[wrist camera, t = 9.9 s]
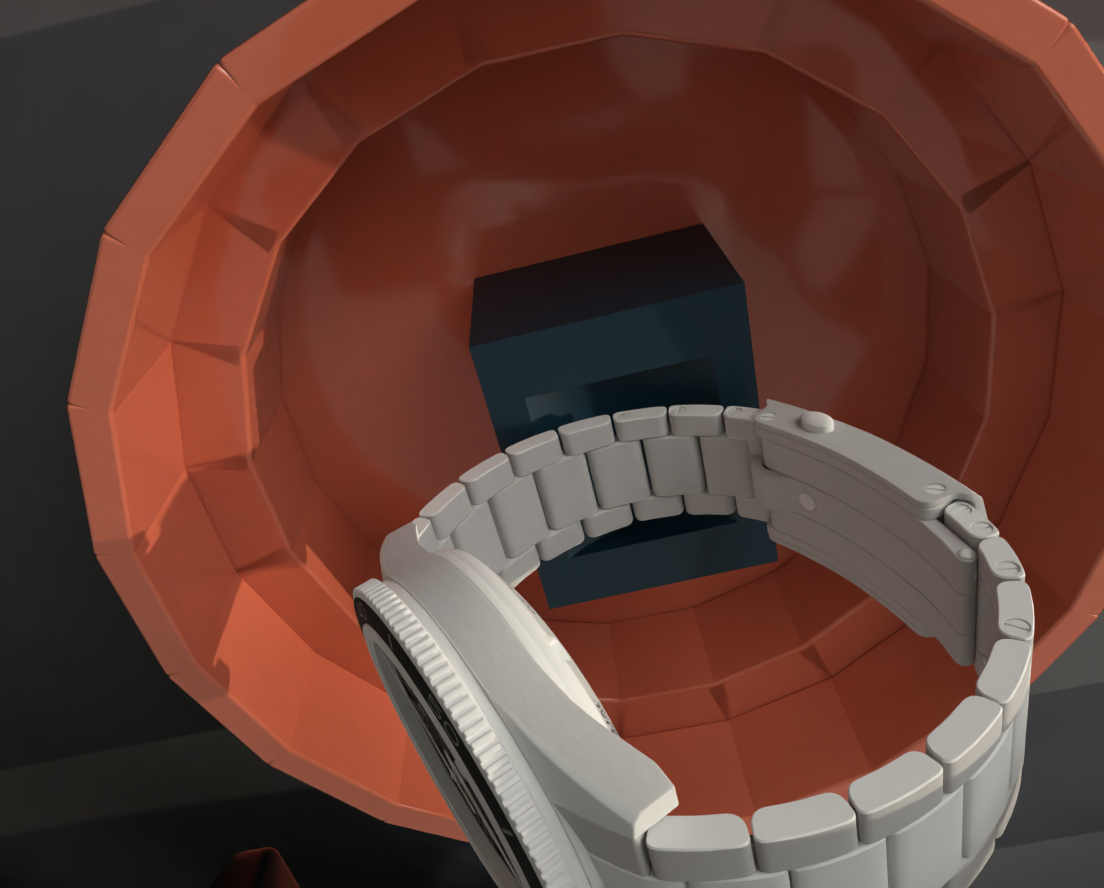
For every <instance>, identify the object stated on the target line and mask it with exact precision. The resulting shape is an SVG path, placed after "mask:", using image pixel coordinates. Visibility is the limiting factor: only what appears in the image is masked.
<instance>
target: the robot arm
mask: <svg viewBox="0 0 1104 888" xmlns="http://www.w3.org/2000/svg"><path fill="white" fill-rule="evenodd" d="M209 888H300V887H299V885H298V884H297V882H296V880H295V879H294V877H293V875H292V874H291V872H290V870H289V869H288V867H287V865H286V864H285V862H284V860H283V858H282V857H281V855H280V854H279V852H278V851H277V850H276V849H274V848H272V847H266V848H260V849H254V850H248V851H243V852H240V853H237V854H236V855H234V856H233V857H232V858H231V859H230V860H229V861H228V862H227V863H226V865H225V866H224V868H223V869H222V870H221V872H220V873H219V874H218V876H217V877H216V879H215V880H214V881H213V883H212V884H211V886H210V887H209Z"/></svg>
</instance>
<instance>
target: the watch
mask: <svg viewBox="0 0 1104 888" xmlns="http://www.w3.org/2000/svg"><path fill="white" fill-rule="evenodd" d="M469 350H470V353H471V356H472V359H473V363H474V366H475V369H476V372H477V376H478V379H479V382H480V385H481V389H482V392H483V395H484V398H485V402H486V405H487V408H488V411H489V414H490V418H491V421H492V424H493V427H494V431H495V434H496V437H497V440H498V444H499V447H500V450H501V453H498V454H496V455H494V456H492V457H490V458H489V459H487V460H485V461H483V462H481V463H480V464H478V465H476V466H475V467H473V468H472V469H470V470H469V471H467V472H466V473H464V474H463V475H461V476H460V477H459V482H460V483H457V482H456V483H452V484H451V485H449V486H448V487H447V488H445V489H444V490H443V491H442V492H440V493H439V494H438V495H437V496H436V497H435V498H433V499H432V500H431V501H430V502H429V503H428V504H427V505H426V506H425V507H424V508H423V509H422V510H421V511H420V513H419V516H420V517H419V518H416V519H414V520H413V521H412V522H410V523H408V524H406V525H404V526H402V527H400V528H399V529H397V530H395V531H393V532H391V533H390V534H388V535H387V536H386V538H385V540H384V542H383V544H382V546H381V550H380V565H381V572H382V578H383V582H381V581H379V580H377V579H370V580H368V581H367V582H365V583H363V584H361V585H359V586H358V587H356V588H354V590H353V601H354V609H355V613H356V617H357V620H358V623H359V626H360V628H361V631H362V634H363V636H364V639H365V642H366V645H367V647H368V650H369V653H370V655H371V658H372V660H373V663H374V665H375V667H376V670H377V672H378V674H379V676H380V679H381V681H382V683H383V685H384V688H385V690H386V692H387V694H388V696H389V698H390V700H391V702H392V704H393V706H394V708H395V710H396V712H397V714H398V716H399V718H400V720H401V722H402V724H403V726H404V728H405V730H406V732H407V734H408V736H409V738H410V739H411V741H412V743H413V745H414V747H415V749H416V751H417V753H418V754H419V756H420V758H421V760H422V762H423V764H424V765H425V767H426V769H427V771H428V773H429V774H430V776H431V778H432V780H433V781H434V783H435V785H436V787H437V788H438V790H439V792H440V794H441V795H442V797H443V799H444V801H445V802H446V804H447V806H448V807H449V809H450V811H451V813H452V814H453V816H454V818H455V819H456V821H457V823H458V824H459V826H460V828H461V829H462V831H463V833H464V834H465V836H466V838H467V839H468V841H469V842H470V844H471V846H472V847H473V849H474V850H475V852H476V854H477V855H478V857H479V858H480V860H481V862H482V863H483V865H484V866H485V868H486V869H487V871H488V872H489V874H490V875H491V877H492V878H493V880H494V881H495V883H496V884H497V886H498V887H499V888H790V884H791V888H967V887H968V886H969V885H970V884H971V883H972V882H973V880H974V879H975V878H976V877H977V875H978V874H979V873H980V871H981V870H982V869H983V867H984V866H985V864H986V862H987V861H988V859H989V858H990V856H991V855H992V853H993V851H994V848H995V839H997V838H999V837H1000V836H1001V835H1002V834H1003V832H1004V830H1005V828H1006V826H1007V823H1008V821H1009V819H1010V817H1011V815H1012V812H1013V809H1014V806H1015V803H1016V800H1017V796H1018V792H1019V788H1020V784H1021V775H1022V767H1023V763H1024V751H1025V739H1026V725H1027V712H1028V700H1029V687H1030V675H1031V662H1032V652H1033V639H1034V607H1033V601H1032V596H1031V591H1030V588H1029V586H1028V585H1027V584H1026V583H1025V572H1024V569H1023V567H1022V565H1021V563H1020V561H1019V559H1018V557H1017V556H1016V554H1015V552H1014V551H1013V549H1012V548H1011V547H1010V545H1009V544H1008V543H1007V542H1006V540H1004V539H1003V538H1001V537H999V531H998V529H997V528H996V527H995V526H994V525H993V524H992V523H991V522H990V521H989V520H988V518H987V514H986V510H985V506H984V502H983V498H982V497H981V496H979V495H978V494H976V493H975V492H974V491H972V490H971V489H969V488H967V487H966V486H964V485H963V484H961V483H960V482H958V481H957V480H955V479H953V478H952V477H950V476H949V475H947V474H945V473H944V472H942V471H940V470H939V469H937V468H935V467H934V466H932V465H930V464H928V463H927V462H925V461H923V460H921V459H919V458H918V457H916V456H914V455H912V454H910V453H908V452H906V451H905V450H903V449H901V448H899V447H897V446H895V445H893V444H891V443H889V442H887V441H885V440H883V439H881V438H879V437H876V436H874V435H872V434H870V433H868V432H865V431H863V430H860V429H858V428H855V427H853V426H850V425H848V424H845V423H843V422H840V421H837V420H834V419H832V418H831V417H830V416H828V415H827V414H824V413H821V412H814V411H808V410H805V409H802V408H799V407H795V406H792V405H789V404H785V403H782V402H778V401H774V400H770V399H767V401H766V407H765V408H764V409H760V406H759V398H758V389H757V381H756V373H755V365H754V356H753V348H752V340H751V332H750V323H749V315H748V307H747V298H746V290H745V282H744V281H743V280H742V278H741V277H740V275H739V274H738V272H737V271H736V270H735V268H734V267H733V265H732V264H731V262H730V261H729V260H728V258H727V257H726V255H725V254H724V252H723V251H722V250H721V248H720V247H719V245H718V244H717V242H716V241H715V240H714V238H713V237H712V235H711V234H710V232H709V231H708V230H707V228H706V227H705V225H704V224H703V223H702V224H698V225H694V226H689V227H685V228H681V229H677V230H673V231H669V232H665V233H660V234H656V235H652V236H648V237H644V238H640V239H636V240H631V241H627V242H623V243H619V244H615V245H611V246H607V247H602V248H598V249H594V250H590V251H586V252H582V253H578V254H573V255H569V256H565V257H561V258H557V259H553V260H549V261H544V262H540V263H536V264H532V265H528V266H524V267H519V268H515V269H511V270H507V271H503V272H499V273H495V274H490V275H486V276H482V277H478V278H474V289H473V301H472V314H471V326H470V339H469ZM776 543H779V544H781V545H783V546H785V547H787V548H790V549H792V550H794V551H796V552H798V553H800V554H802V555H804V556H806V557H808V558H810V559H812V560H814V561H816V562H818V563H819V564H821V565H823V566H825V567H827V568H829V569H830V570H832V571H834V572H836V573H837V574H839V575H841V576H842V577H844V578H846V579H847V580H849V581H850V582H852V583H853V584H855V585H856V586H858V587H859V588H861V589H862V590H863V591H865V592H866V593H868V594H869V595H870V596H872V597H873V598H874V599H876V600H877V601H878V602H880V603H881V604H882V605H883V606H885V607H886V608H887V609H889V610H890V611H891V612H892V613H893V614H895V615H896V616H897V617H898V618H899V619H901V620H902V621H903V622H904V623H905V624H906V625H908V626H909V627H910V628H911V629H912V630H913V631H914V632H916V633H917V634H918V635H920V636H923V637H936V638H937V639H938V641H939V642H940V643H941V644H942V645H943V647H944V648H945V649H946V650H947V652H948V653H949V654H950V656H951V657H952V658H953V660H954V661H955V662H956V663H957V664H959V665H962V666H969V665H972V664H973V663H974V667H975V670H976V672H977V674H978V677H979V678H978V680H977V682H976V694H975V696H970V697H967V698H966V699H964V700H963V701H962V702H961V703H960V704H959V705H958V706H957V707H956V709H955V710H954V711H953V712H952V713H951V714H950V715H949V716H948V717H947V718H946V719H945V720H944V721H943V722H942V723H941V724H940V725H939V726H938V727H937V728H936V729H934V730H933V731H932V732H931V733H930V734H929V735H928V736H927V738H926V754H924V753H922V752H918V751H911V752H908V753H905V754H904V755H902V756H900V757H899V758H897V759H895V760H894V761H892V762H890V763H889V764H887V765H885V766H883V767H882V768H880V769H878V770H876V771H874V772H872V773H870V774H867V775H865V776H863V777H861V778H859V779H857V780H855V781H854V782H852V783H851V784H850V786H849V787H848V800H849V804H848V802H847V801H846V800H845V799H844V798H843V797H841V796H840V795H838V794H836V793H823V794H819V795H816V796H812V797H809V798H805V799H802V800H798V801H793V802H789V803H784V804H779V805H773V806H768V807H763V808H761V809H758V810H757V811H756V812H755V813H754V814H753V816H752V818H751V827H752V833H753V838H754V844H751V840H750V836H749V833H748V829H747V826H746V824H745V822H744V821H743V820H742V819H741V818H740V817H739V816H736V815H734V814H728V813H727V814H714V815H700V816H666V815H667V814H668V813H669V812H671V811H672V810H673V809H674V808H676V807H677V806H678V804H679V803H678V799H677V795H676V790H675V786H674V785H673V784H672V782H671V781H670V780H669V779H668V777H667V776H666V775H665V774H664V772H663V771H662V770H661V769H660V767H659V766H658V765H657V764H656V763H655V762H654V761H653V760H651V759H650V758H648V757H647V756H646V755H644V754H643V753H641V752H640V751H638V750H637V749H635V748H634V747H633V746H631V745H630V744H628V743H627V742H625V741H624V740H623V739H621V738H620V736H619V735H618V733H617V731H616V729H615V727H614V725H613V724H612V722H611V720H610V718H609V717H608V715H607V713H606V711H605V710H604V708H603V706H602V704H601V703H600V701H599V699H598V698H597V696H596V695H595V693H594V691H593V690H592V688H591V687H590V685H589V683H588V682H587V680H586V679H585V677H584V676H583V674H582V673H581V671H580V670H579V668H578V667H577V665H576V664H575V662H574V661H573V659H572V658H571V656H570V655H569V654H568V652H567V651H566V649H565V648H564V647H563V645H562V644H561V643H560V641H559V640H558V639H557V637H556V636H555V635H554V633H553V632H552V631H551V630H550V628H549V627H548V626H547V625H546V623H545V622H544V621H543V620H542V618H541V617H540V616H539V615H538V614H537V613H536V611H535V610H534V609H533V608H532V607H531V606H530V605H529V604H528V603H527V601H526V600H525V599H524V598H523V597H522V596H521V595H520V594H519V593H518V592H517V591H516V590H515V589H514V587H515V586H517V585H518V584H519V583H520V582H521V581H522V580H523V579H525V578H526V577H527V576H528V575H530V574H531V573H532V572H533V571H535V570H536V569H537V570H538V573H539V577H540V580H541V583H542V586H543V590H544V593H545V596H546V599H547V603H548V606H549V609H554V608H558V607H563V606H568V605H573V604H577V603H582V602H587V601H592V600H596V599H601V598H606V597H611V596H615V595H620V594H625V593H630V592H634V591H639V590H644V589H649V588H653V587H658V586H663V585H668V584H672V583H677V582H682V581H687V580H691V579H696V578H701V577H705V576H710V575H715V574H720V573H724V572H729V571H734V570H739V569H743V568H748V567H753V566H758V565H762V564H767V563H772V562H777V561H778V555H777V547H776ZM974 657H975V660H974ZM788 871H789V875H788ZM789 877H790V882H789Z"/></svg>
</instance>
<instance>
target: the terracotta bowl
mask: <svg viewBox="0 0 1104 888" xmlns="http://www.w3.org/2000/svg"><path fill="white" fill-rule="evenodd" d="M702 223H703V224H704V225H705V227H706V228H707V230H708V231H709V232H710V234H711V235H712V237H713V238H714V240H715V241H716V242H717V244H718V245H719V247H720V248H721V250H722V251H723V252H724V254H725V255H726V257H727V258H728V260H729V261H730V262H731V264H732V265H733V267H734V268H735V270H736V271H737V272H738V274H739V275H740V277H741V278H742V280H743V281H744V282H745V290H746V298H747V307H748V315H749V323H750V332H751V340H752V348H753V356H754V365H755V373H756V381H757V389H758V398H759V406H760V409H764V408H765V407H766V401H767V399H770V400H774V401H778V402H782V403H785V404H789V405H792V406H795V407H799V408H802V409H805V410H808V411H814V412H821V413H824V414H827V415H828V416H830V417H831V418H832V419H834V420H837V421H840V422H843V423H845V424H848V425H850V426H853V427H855V428H858V429H860V430H863V431H865V432H868V433H870V434H872V435H874V436H876V437H879V438H881V439H883V440H885V441H887V442H889V443H891V444H893V445H895V446H897V447H899V448H901V449H903V450H905V451H906V452H908V453H910V454H912V455H914V456H916V457H918V458H919V459H921V460H923V461H925V462H927V463H928V464H930V465H932V466H934V467H935V468H937V469H939V470H940V471H942V472H944V473H945V474H947V475H949V476H950V477H952V478H953V479H955V480H957V481H958V482H960V483H961V484H963V485H964V486H966V487H967V488H969V489H971V490H972V491H974V492H975V493H976V494H978V495H979V496H981V497H982V498H983V502H984V506H985V510H986V514H987V518H988V520H989V521H990V522H991V523H992V524H993V525H994V526H995V527H996V528H997V529H998V531H999V537H1001V538H1003V539H1004V540H1006V542H1007V543H1008V544H1009V545H1010V547H1011V548H1012V549H1013V551H1014V552H1015V554H1016V556H1017V557H1018V559H1019V561H1020V563H1021V565H1022V567H1023V569H1024V572H1025V583H1026V584H1027V585H1028V586H1029V588H1030V591H1031V596H1032V601H1033V607H1034V639H1033V652H1032V662H1031V675H1030V685H1031V684H1032V683H1033V682H1034V681H1035V680H1036V679H1037V678H1038V677H1039V676H1040V675H1041V674H1042V673H1043V672H1044V671H1045V670H1046V669H1047V668H1048V667H1049V666H1050V665H1051V664H1052V663H1053V662H1054V661H1055V660H1056V659H1057V658H1058V657H1059V656H1060V655H1061V654H1062V653H1063V652H1064V651H1065V650H1066V649H1067V648H1068V647H1069V646H1070V645H1071V644H1072V643H1073V642H1074V641H1075V640H1076V639H1077V638H1078V637H1079V636H1080V635H1081V634H1082V633H1083V632H1084V631H1085V630H1086V629H1087V628H1088V627H1089V626H1090V625H1091V624H1092V623H1093V622H1094V621H1095V620H1096V619H1097V617H1098V616H1097V615H1099V614H1101V612H1102V611H1103V609H1104V68H1103V66H1102V65H1101V63H1100V62H1099V60H1098V59H1097V57H1096V56H1095V54H1094V53H1093V51H1092V50H1091V48H1090V47H1089V45H1088V44H1087V42H1086V41H1085V39H1084V38H1083V36H1082V35H1081V33H1080V32H1079V30H1078V29H1077V27H1076V26H1075V24H1073V23H1071V22H1069V20H1068V19H1067V17H1066V16H1065V15H1063V14H1062V13H1060V12H1059V11H1057V10H1055V9H1054V8H1052V7H1050V6H1049V5H1047V4H1045V3H1044V2H1042V1H1041V0H305V1H304V2H302V3H301V4H299V5H298V6H296V7H295V8H293V9H292V10H290V11H289V12H287V13H286V14H285V15H283V16H282V17H280V18H279V19H277V20H276V21H274V22H273V23H271V24H270V25H268V26H267V27H265V28H264V29H262V30H261V31H260V32H258V33H257V34H255V35H254V36H252V37H251V38H249V39H248V40H246V41H245V42H243V43H242V44H240V45H239V46H237V47H236V48H235V49H233V50H232V51H230V52H229V53H227V54H226V55H224V56H223V57H222V58H221V60H220V63H218V64H216V65H214V66H213V67H212V69H211V70H210V72H209V73H208V74H207V76H206V77H205V79H204V80H203V82H202V83H201V85H200V86H199V88H198V89H197V91H196V92H195V94H194V95H193V97H192V98H191V100H190V101H189V103H188V104H187V105H186V107H185V108H184V110H183V111H182V113H181V114H180V116H179V117H178V119H177V120H176V122H175V123H174V125H173V126H172V128H171V129H170V131H169V132H168V134H167V135H166V136H165V138H164V139H163V141H162V142H161V144H160V145H159V147H158V148H157V150H156V151H155V153H154V154H153V156H152V157H151V159H150V160H149V162H148V163H147V165H146V166H145V167H144V169H143V170H142V172H141V173H140V175H139V176H138V178H137V179H136V181H135V182H134V184H133V185H132V187H131V188H130V190H129V191H128V193H127V194H126V196H125V197H124V198H123V200H122V201H121V203H120V204H119V206H118V207H117V209H116V210H115V212H114V213H113V215H112V216H111V218H110V219H109V221H108V222H107V224H106V225H105V230H104V231H105V232H104V233H103V234H102V235H101V238H100V243H99V247H98V252H97V257H96V262H95V267H94V272H93V277H92V281H91V286H90V291H89V296H88V301H87V306H86V311H85V315H84V320H83V325H82V330H81V335H80V340H79V345H78V349H77V354H76V359H75V364H74V369H73V374H72V379H71V383H70V388H69V393H68V406H67V410H68V416H69V421H70V426H71V432H72V437H73V442H74V448H75V453H76V458H77V464H78V469H79V474H80V480H81V485H82V490H83V496H84V501H85V506H86V512H87V517H88V522H89V528H90V533H91V538H92V544H93V549H94V553H95V554H96V555H97V556H96V557H97V560H98V562H99V563H100V565H101V567H102V568H103V570H104V572H105V573H106V575H107V577H108V578H109V580H110V582H111V583H112V585H113V587H114V588H115V590H116V592H117V593H118V595H119V597H120V598H121V600H122V602H123V603H124V605H125V607H126V608H127V610H128V612H129V613H130V615H131V617H132V618H133V620H134V622H135V623H136V625H137V627H138V628H139V630H140V632H141V633H142V635H143V637H144V638H145V640H146V642H147V643H148V645H149V647H150V648H151V650H152V652H153V653H154V655H155V657H156V658H157V660H158V662H159V663H160V665H161V667H162V668H163V670H164V672H165V673H166V674H167V675H169V678H170V679H171V680H172V681H173V682H174V683H175V684H177V685H178V686H179V687H180V688H181V689H182V690H183V691H185V692H186V693H187V694H188V695H189V696H190V697H191V698H192V699H194V700H195V701H196V702H197V703H198V704H199V705H200V706H202V707H203V708H204V709H205V710H206V711H207V712H208V713H210V714H211V715H212V716H213V717H214V718H215V719H216V720H217V721H219V722H220V723H221V724H222V725H223V726H224V727H225V728H227V729H228V730H229V731H230V732H231V733H232V734H233V735H234V736H236V737H237V738H238V739H239V740H240V741H241V742H242V743H244V744H245V745H246V746H247V747H248V748H249V749H250V750H252V751H253V752H254V753H255V754H256V755H257V756H258V757H259V758H261V759H262V760H263V761H264V762H265V763H269V765H270V766H271V767H273V768H276V769H278V770H280V771H282V772H284V773H286V774H288V775H290V776H292V777H294V778H296V779H298V780H300V781H302V782H304V783H306V784H308V785H310V786H312V787H314V788H316V789H318V790H320V791H322V792H324V793H326V794H328V795H330V796H332V797H334V798H336V799H338V800H340V801H342V802H344V803H346V804H348V805H350V806H352V807H354V808H356V809H358V810H360V811H362V812H364V813H366V814H368V815H370V816H372V817H374V818H376V819H378V820H380V821H384V822H385V823H388V824H392V825H397V826H401V827H405V828H409V829H414V830H418V831H422V832H426V833H430V834H435V835H439V836H443V837H447V838H452V839H456V840H460V841H464V842H468V843H470V842H469V841H468V839H467V838H466V836H465V834H464V833H463V831H462V829H461V828H460V826H459V824H458V823H457V821H456V819H455V818H454V816H453V814H452V813H451V811H450V809H449V807H448V806H447V804H446V802H445V801H444V799H443V797H442V795H441V794H440V792H439V790H438V788H437V787H436V785H435V783H434V781H433V780H432V778H431V776H430V774H429V773H428V771H427V769H426V767H425V765H424V764H423V762H422V760H421V758H420V756H419V754H418V753H417V751H416V749H415V747H414V745H413V743H412V741H411V739H410V738H409V736H408V734H407V732H406V730H405V728H404V726H403V724H402V722H401V720H400V718H399V716H398V714H397V712H396V710H395V708H394V706H393V704H392V702H391V700H390V698H389V696H388V694H387V692H386V690H385V688H384V685H383V683H382V681H381V679H380V676H379V674H378V672H377V670H376V667H375V665H374V663H373V660H372V658H371V655H370V653H369V650H368V647H367V645H366V642H365V639H364V636H363V634H362V631H361V628H360V626H359V623H358V620H357V617H356V613H355V609H354V601H353V590H354V588H356V587H358V586H359V585H361V584H363V583H365V582H367V581H368V580H370V579H377V580H379V581H381V582H383V578H382V572H381V565H380V550H381V546H382V544H383V542H384V540H385V538H386V536H387V535H388V534H390V533H391V532H393V531H395V530H397V529H399V528H400V527H402V526H404V525H406V524H408V523H410V522H412V521H413V520H414V519H416V518H419V517H420V516H419V513H420V511H421V510H422V509H423V508H424V507H425V506H426V505H427V504H428V503H429V502H430V501H431V500H432V499H433V498H435V497H436V496H437V495H438V494H439V493H440V492H442V491H443V490H444V489H445V488H447V487H448V486H449V485H451V484H452V483H456V482H457V483H460V482H459V477H460V476H461V475H463V474H464V473H466V472H467V471H469V470H470V469H472V468H473V467H475V466H476V465H478V464H480V463H481V462H483V461H485V460H487V459H489V458H490V457H492V456H494V455H496V454H498V453H501V450H500V447H499V444H498V440H497V437H496V434H495V431H494V427H493V424H492V421H491V418H490V414H489V411H488V408H487V405H486V402H485V398H484V395H483V392H482V389H481V385H480V382H479V379H478V376H477V372H476V369H475V366H474V363H473V359H472V356H471V353H470V350H469V339H470V326H471V314H472V301H473V289H474V278H478V277H482V276H486V275H490V274H495V273H499V272H503V271H507V270H511V269H515V268H519V267H524V266H528V265H532V264H536V263H540V262H544V261H549V260H553V259H557V258H561V257H565V256H569V255H573V254H578V253H582V252H586V251H590V250H594V249H598V248H602V247H607V246H611V245H615V244H619V243H623V242H627V241H631V240H636V239H640V238H644V237H648V236H652V235H656V234H660V233H665V232H669V231H673V230H677V229H681V228H685V227H689V226H694V225H698V224H702ZM776 547H777V555H778V561H777V562H772V563H767V564H762V565H758V566H753V567H748V568H743V569H739V570H734V571H729V572H724V573H720V574H715V575H710V576H705V577H701V578H696V579H691V580H687V581H682V582H677V583H672V584H668V585H663V586H658V587H653V588H649V589H644V590H639V591H634V592H630V593H625V594H620V595H615V596H611V597H606V598H601V599H596V600H592V601H587V602H582V603H577V604H573V605H568V606H563V607H558V608H554V609H549V606H548V603H547V599H546V596H545V593H544V590H543V586H542V583H541V580H540V577H539V573H538V570H537V569H536V570H535V571H533V572H532V573H531V574H530V575H528V576H527V577H526V578H525V579H523V580H522V581H521V582H520V583H519V584H518V585H517V586H515V587H514V589H515V590H516V591H517V592H518V593H519V594H520V595H521V596H522V597H523V598H524V599H525V600H526V601H527V603H528V604H529V605H530V606H531V607H532V608H533V609H534V610H535V611H536V613H537V614H538V615H539V616H540V617H541V618H542V620H543V621H544V622H545V623H546V625H547V626H548V627H549V628H550V630H551V631H552V632H553V633H554V635H555V636H556V637H557V639H558V640H559V641H560V643H561V644H562V645H563V647H564V648H565V649H566V651H567V652H568V654H569V655H570V656H571V658H572V659H573V661H574V662H575V664H576V665H577V667H578V668H579V670H580V671H581V673H582V674H583V676H584V677H585V679H586V680H587V682H588V683H589V685H590V687H591V688H592V690H593V691H594V693H595V695H596V696H597V698H598V699H599V701H600V703H601V704H602V706H603V708H604V710H605V711H606V713H607V715H608V717H609V718H610V720H611V722H612V724H613V725H614V727H615V729H616V731H617V733H618V735H619V736H620V738H621V739H623V740H624V741H625V742H627V743H628V744H630V745H631V746H633V747H634V748H635V749H637V750H638V751H640V752H641V753H643V754H644V755H646V756H647V757H648V758H650V759H651V760H653V761H654V762H655V763H656V764H657V765H658V766H659V767H660V769H661V770H662V771H663V772H664V774H665V775H666V776H667V777H668V779H669V780H670V781H671V782H672V784H673V785H674V786H675V790H676V795H677V799H678V803H679V804H678V806H677V807H676V808H674V809H673V810H672V811H671V812H669V813H668V814H667V815H666V816H700V815H714V814H727V813H728V814H734V815H736V816H739V817H740V818H741V819H742V820H743V821H744V822H745V824H746V826H747V829H748V833H749V836H750V835H753V833H752V827H751V818H752V816H753V814H754V813H755V812H756V811H757V810H758V809H761V808H763V807H768V806H773V805H779V804H784V803H789V802H793V801H798V800H802V799H805V798H809V797H812V796H816V795H819V794H823V793H836V794H838V795H840V796H841V797H843V798H844V799H845V800H846V801H849V800H848V787H849V786H850V784H851V783H852V782H854V781H855V780H857V779H859V778H861V777H863V776H865V775H867V774H870V773H872V772H874V771H876V770H878V769H880V768H882V767H883V766H885V765H887V764H889V763H890V762H892V761H894V760H895V759H897V758H899V757H900V756H902V755H904V754H905V753H908V752H911V751H918V752H922V753H924V754H926V738H927V736H928V735H929V734H930V733H931V732H932V731H933V730H934V729H936V728H937V727H938V726H939V725H940V724H941V723H942V722H943V721H944V720H945V719H946V718H947V717H948V716H949V715H950V714H951V713H952V712H953V711H954V710H955V709H956V707H957V706H958V705H959V704H960V703H961V702H962V701H963V700H964V699H966V698H967V697H970V696H975V694H976V682H977V680H978V678H979V677H978V674H977V672H976V670H975V667H974V663H973V664H972V665H969V666H962V665H959V664H957V663H956V662H955V661H954V660H953V658H952V657H951V656H950V654H949V653H948V652H947V650H946V649H945V648H944V647H943V645H942V644H941V643H940V642H939V641H938V639H937V638H936V637H923V636H920V635H918V634H917V633H916V632H914V631H913V630H912V629H911V628H910V627H909V626H908V625H906V624H905V623H904V622H903V621H902V620H901V619H899V618H898V617H897V616H896V615H895V614H893V613H892V612H891V611H890V610H889V609H887V608H886V607H885V606H883V605H882V604H881V603H880V602H878V601H877V600H876V599H874V598H873V597H872V596H870V595H869V594H868V593H866V592H865V591H863V590H862V589H861V588H859V587H858V586H856V585H855V584H853V583H852V582H850V581H849V580H847V579H846V578H844V577H842V576H841V575H839V574H837V573H836V572H834V571H832V570H830V569H829V568H827V567H825V566H823V565H821V564H819V563H818V562H816V561H814V560H812V559H810V558H808V557H806V556H804V555H802V554H800V553H798V552H796V551H794V550H792V549H790V548H787V547H785V546H783V545H781V544H779V543H776ZM974 660H975V657H974Z"/></svg>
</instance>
